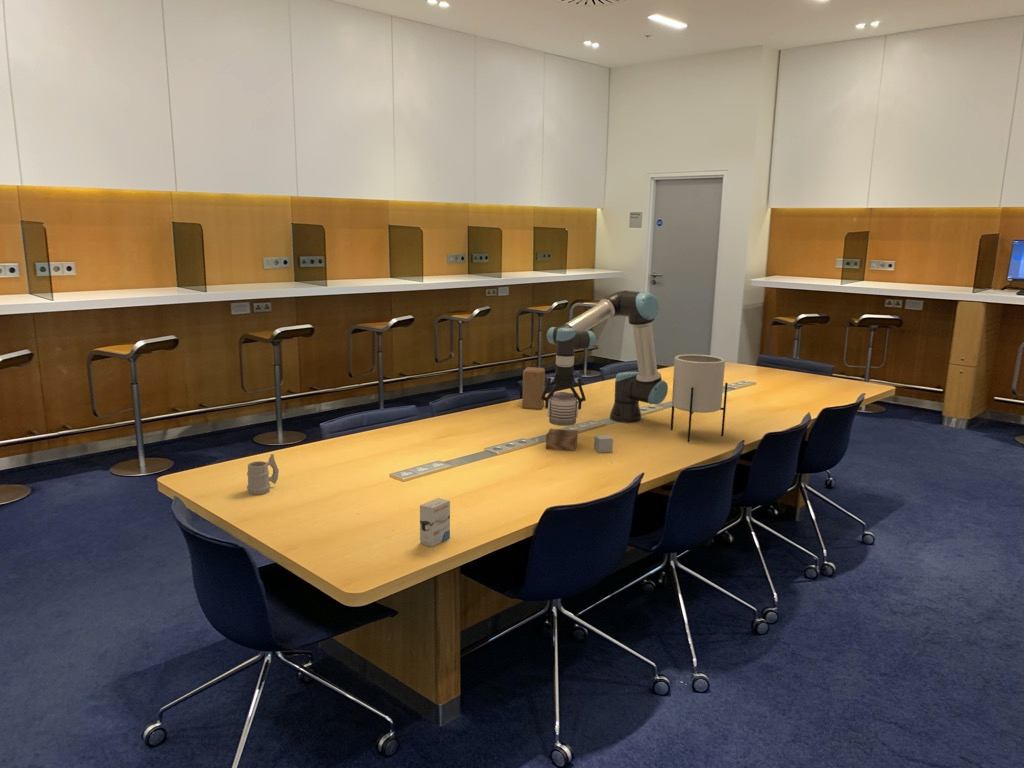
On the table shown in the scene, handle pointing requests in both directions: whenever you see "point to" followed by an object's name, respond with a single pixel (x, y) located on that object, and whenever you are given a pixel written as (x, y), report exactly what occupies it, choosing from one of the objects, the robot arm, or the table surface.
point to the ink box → (434, 522)
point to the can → (563, 409)
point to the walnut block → (561, 439)
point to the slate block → (603, 443)
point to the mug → (261, 476)
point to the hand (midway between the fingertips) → (562, 416)
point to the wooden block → (533, 388)
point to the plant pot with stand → (698, 385)
